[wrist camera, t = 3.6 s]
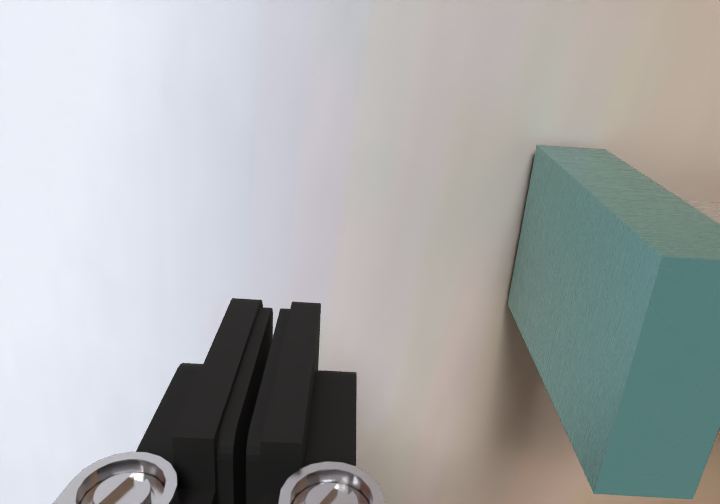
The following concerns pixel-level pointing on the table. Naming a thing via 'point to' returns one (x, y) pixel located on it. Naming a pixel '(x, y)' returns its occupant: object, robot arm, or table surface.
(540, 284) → the peg
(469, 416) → the table surface
